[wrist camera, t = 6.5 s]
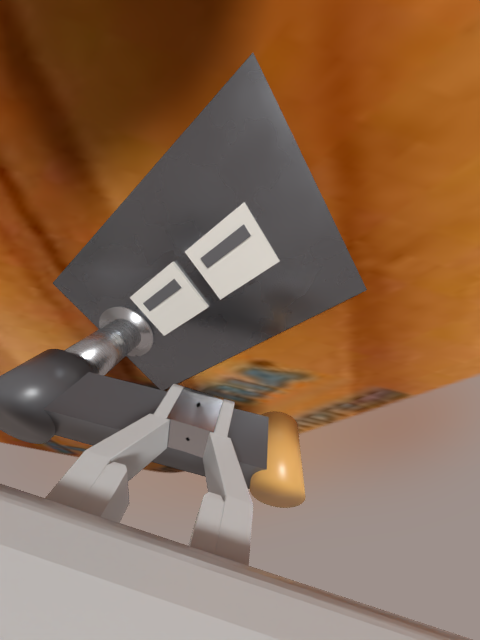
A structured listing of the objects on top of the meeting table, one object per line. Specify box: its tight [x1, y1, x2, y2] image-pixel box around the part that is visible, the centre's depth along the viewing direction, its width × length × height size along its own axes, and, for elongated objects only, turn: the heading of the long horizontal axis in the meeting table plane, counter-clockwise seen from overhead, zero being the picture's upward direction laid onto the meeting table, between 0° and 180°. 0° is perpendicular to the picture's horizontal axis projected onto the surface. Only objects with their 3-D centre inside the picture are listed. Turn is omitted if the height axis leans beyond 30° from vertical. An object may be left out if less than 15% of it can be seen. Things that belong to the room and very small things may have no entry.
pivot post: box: [64, 307, 153, 376], centre depth 14 cm, size 4×4×5 cm
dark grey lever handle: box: [0, 349, 305, 508], centre depth 10 cm, size 15×4×3 cm, turn 81°
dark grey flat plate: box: [53, 53, 366, 390], centre depth 14 cm, size 18×12×1 cm, turn 125°
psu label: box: [130, 262, 209, 336], centre depth 14 cm, size 4×4×1 cm
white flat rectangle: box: [185, 202, 280, 300], centre depth 12 cm, size 4×4×1 cm
